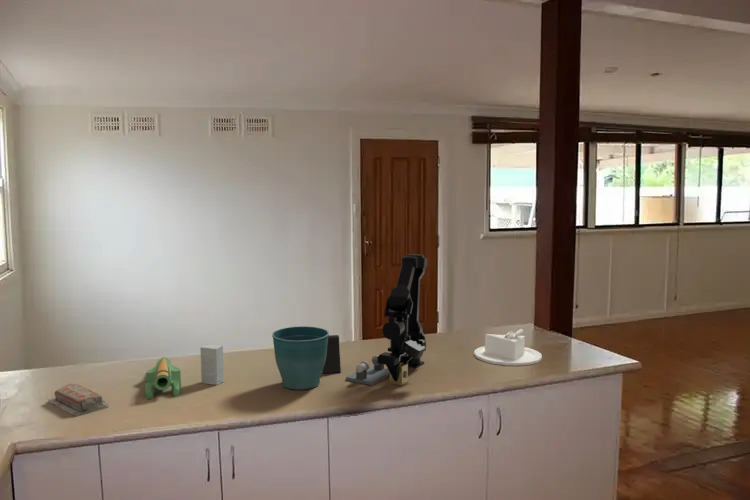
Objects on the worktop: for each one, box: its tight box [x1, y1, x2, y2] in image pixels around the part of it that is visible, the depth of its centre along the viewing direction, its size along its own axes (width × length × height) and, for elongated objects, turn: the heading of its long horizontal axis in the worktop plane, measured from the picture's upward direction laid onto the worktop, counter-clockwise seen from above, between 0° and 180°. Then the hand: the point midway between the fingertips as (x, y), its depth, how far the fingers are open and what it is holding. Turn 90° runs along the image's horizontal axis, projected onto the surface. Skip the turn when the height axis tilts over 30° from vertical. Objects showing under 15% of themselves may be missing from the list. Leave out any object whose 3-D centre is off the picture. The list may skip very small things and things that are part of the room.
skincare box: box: [199, 344, 225, 386], centre depth 199 cm, size 6×4×12 cm
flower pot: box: [271, 325, 330, 391], centre depth 197 cm, size 18×18×17 cm
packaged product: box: [47, 383, 109, 417], centre depth 180 cm, size 18×5×10 cm
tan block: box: [389, 363, 409, 386], centre depth 200 cm, size 5×4×6 cm
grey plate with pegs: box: [345, 354, 390, 386], centre depth 206 cm, size 15×10×6 cm, turn 150°
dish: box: [473, 328, 542, 367], centre depth 231 cm, size 25×25×11 cm
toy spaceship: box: [144, 356, 182, 400], centre depth 200 cm, size 32×10×7 cm, turn 18°
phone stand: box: [322, 334, 342, 375], centre depth 213 cm, size 9×6×12 cm, turn 12°
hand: (398, 379), depth 200 cm, fingers closed on tan block, 4 cm apart
